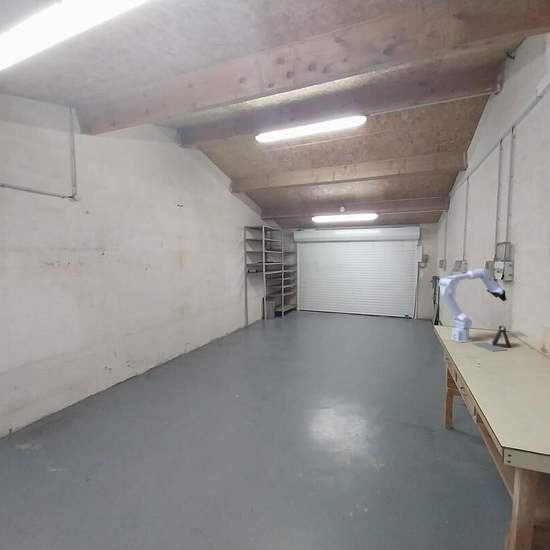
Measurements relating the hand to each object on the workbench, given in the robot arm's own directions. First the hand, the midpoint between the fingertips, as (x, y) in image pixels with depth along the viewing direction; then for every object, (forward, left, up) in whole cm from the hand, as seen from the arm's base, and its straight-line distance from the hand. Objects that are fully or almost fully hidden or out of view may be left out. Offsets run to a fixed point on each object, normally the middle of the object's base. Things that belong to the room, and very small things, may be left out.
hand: (501, 298), depth 193 cm
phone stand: (-14, -14, -27) cm, 34 cm away
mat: (-23, -14, -27) cm, 38 cm away
